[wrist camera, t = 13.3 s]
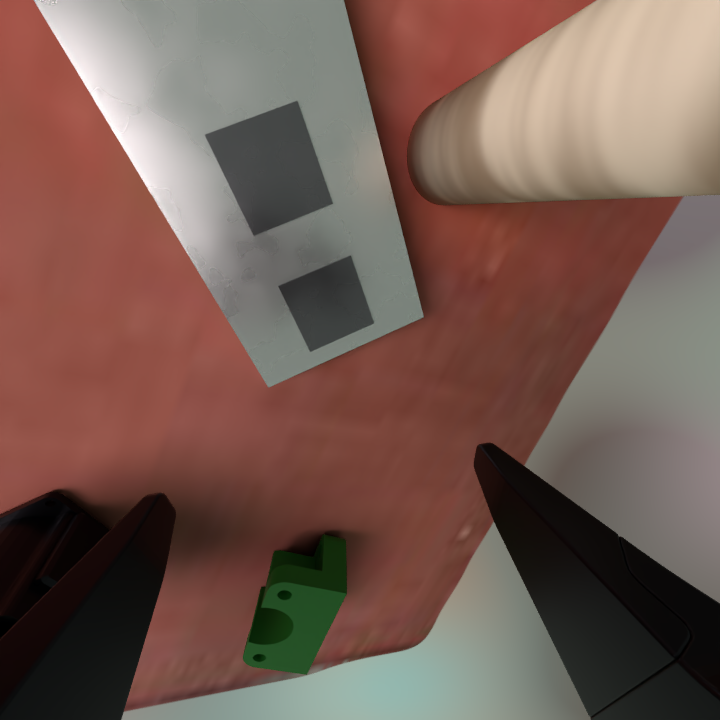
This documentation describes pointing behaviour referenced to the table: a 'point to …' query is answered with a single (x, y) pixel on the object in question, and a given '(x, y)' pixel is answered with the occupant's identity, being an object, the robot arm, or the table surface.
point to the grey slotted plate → (256, 162)
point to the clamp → (297, 607)
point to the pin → (584, 113)
